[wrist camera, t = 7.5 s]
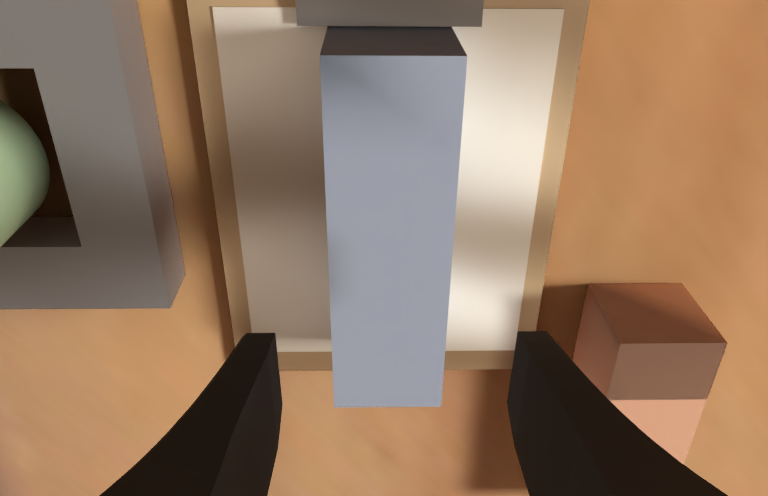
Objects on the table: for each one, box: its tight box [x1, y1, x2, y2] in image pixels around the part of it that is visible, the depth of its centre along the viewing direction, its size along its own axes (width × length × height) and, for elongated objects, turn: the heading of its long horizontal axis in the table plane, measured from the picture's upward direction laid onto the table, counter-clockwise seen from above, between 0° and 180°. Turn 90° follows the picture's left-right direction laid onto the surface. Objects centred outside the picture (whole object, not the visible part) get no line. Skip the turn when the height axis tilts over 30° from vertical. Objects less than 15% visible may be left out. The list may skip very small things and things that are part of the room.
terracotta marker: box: [572, 283, 727, 465], centre depth 24 cm, size 11×3×3 cm, turn 179°
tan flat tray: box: [186, 0, 590, 371], centre depth 20 cm, size 14×11×1 cm
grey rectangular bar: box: [320, 26, 467, 407], centre depth 19 cm, size 11×3×3 cm, turn 179°
